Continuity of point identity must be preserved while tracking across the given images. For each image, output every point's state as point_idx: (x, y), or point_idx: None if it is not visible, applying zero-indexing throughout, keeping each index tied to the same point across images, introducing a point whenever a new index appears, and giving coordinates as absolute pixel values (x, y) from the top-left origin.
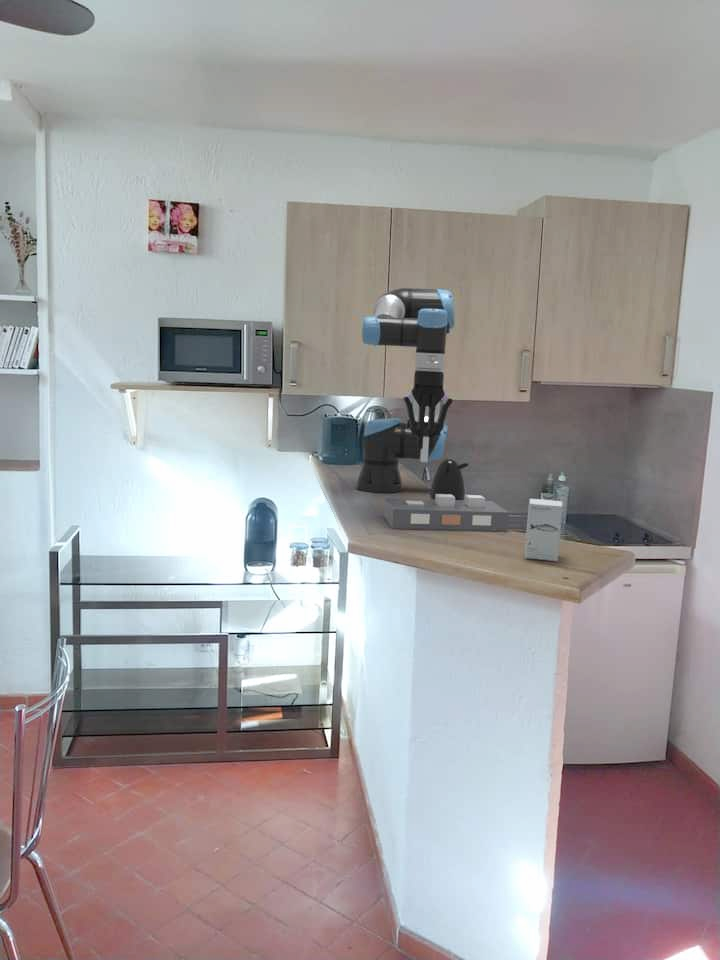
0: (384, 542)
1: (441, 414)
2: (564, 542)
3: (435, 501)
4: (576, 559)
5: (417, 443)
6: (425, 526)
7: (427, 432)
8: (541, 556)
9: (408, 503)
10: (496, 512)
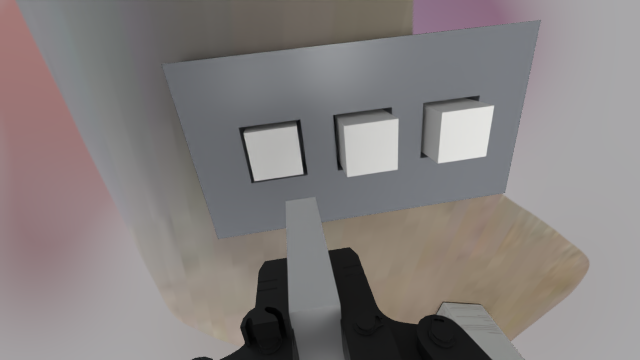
0: (224, 310)
1: None
2: (538, 232)
3: (339, 128)
4: (495, 317)
5: (259, 292)
6: None
7: (346, 344)
8: None
9: (255, 179)
10: (475, 197)
